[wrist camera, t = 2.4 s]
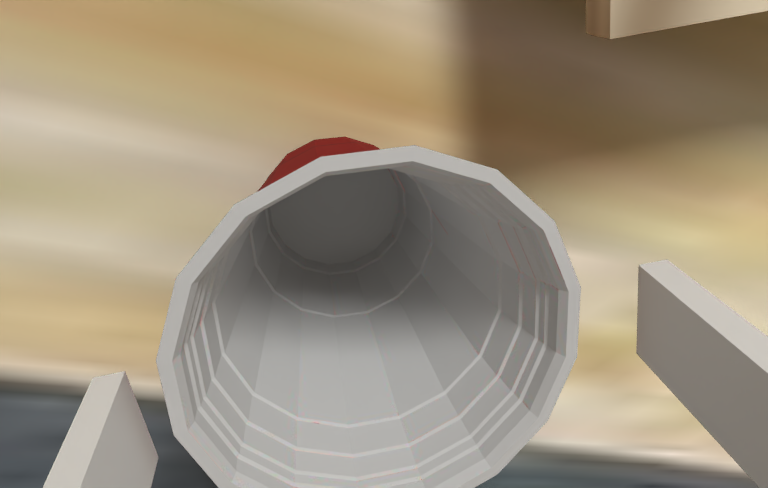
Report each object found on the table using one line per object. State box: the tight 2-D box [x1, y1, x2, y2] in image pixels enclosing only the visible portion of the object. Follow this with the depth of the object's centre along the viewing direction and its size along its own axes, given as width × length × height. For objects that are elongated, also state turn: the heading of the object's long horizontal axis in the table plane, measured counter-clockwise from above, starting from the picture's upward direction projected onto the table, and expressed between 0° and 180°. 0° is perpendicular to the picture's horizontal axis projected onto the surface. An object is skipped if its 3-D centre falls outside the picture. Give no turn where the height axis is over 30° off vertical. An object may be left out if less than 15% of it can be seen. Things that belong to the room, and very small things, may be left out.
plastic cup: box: [156, 137, 581, 488], centre depth 21 cm, size 11×11×12 cm
